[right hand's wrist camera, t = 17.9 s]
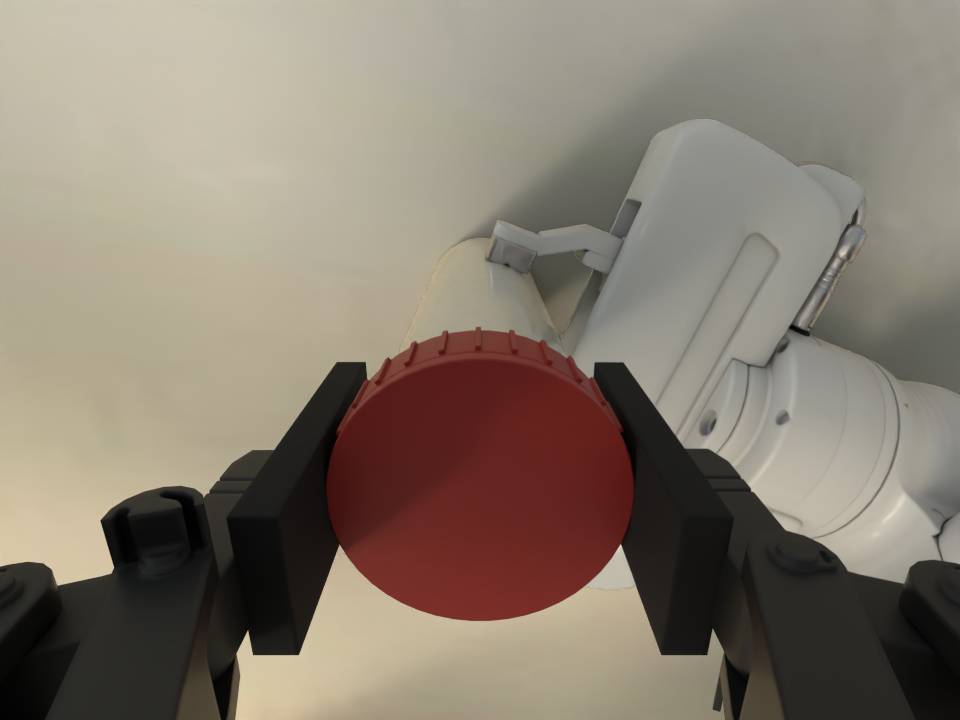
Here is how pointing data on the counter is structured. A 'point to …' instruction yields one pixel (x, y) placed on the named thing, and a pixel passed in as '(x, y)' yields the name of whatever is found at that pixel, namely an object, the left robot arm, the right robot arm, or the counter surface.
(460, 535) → the lid
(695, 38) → the counter surface
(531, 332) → the jar
